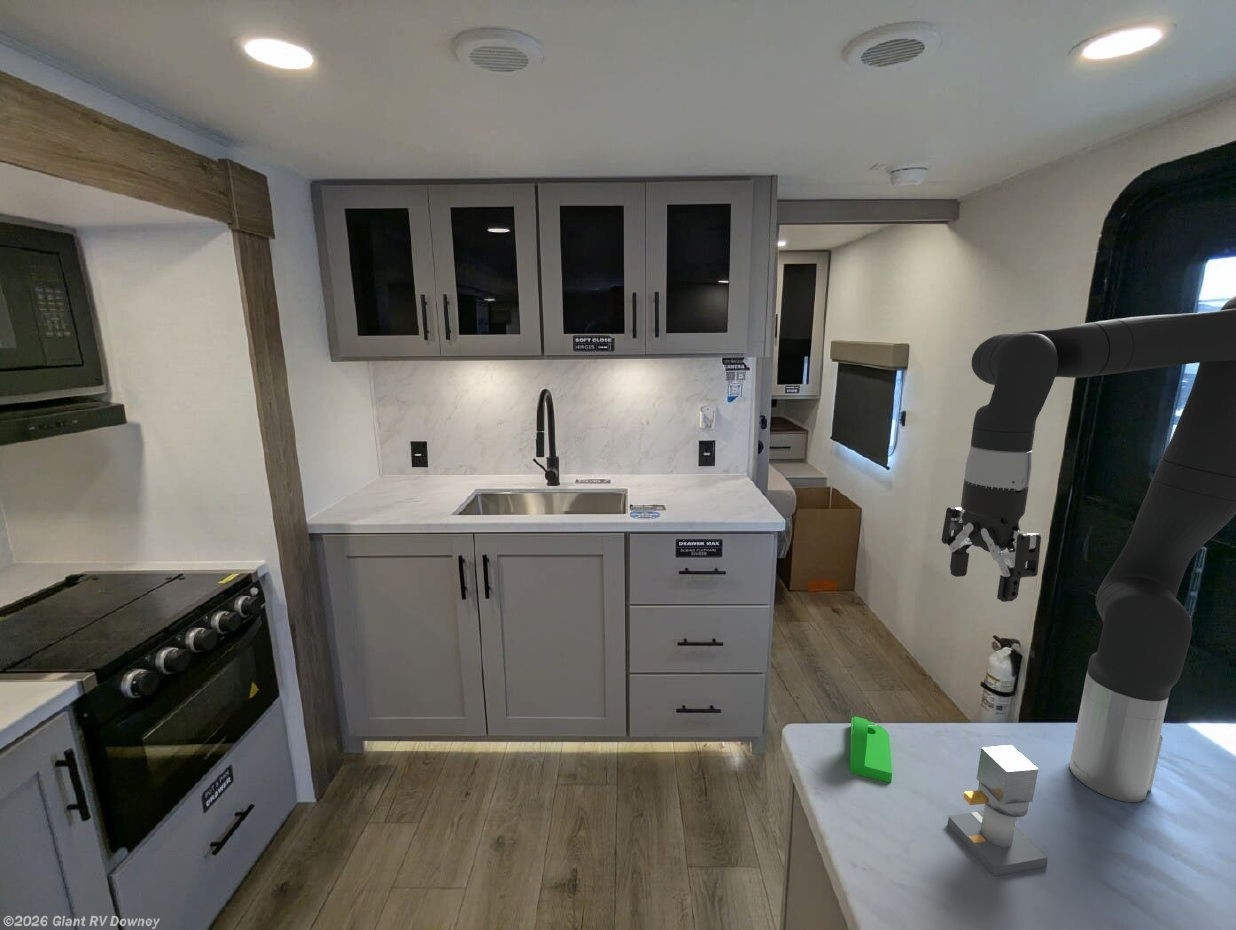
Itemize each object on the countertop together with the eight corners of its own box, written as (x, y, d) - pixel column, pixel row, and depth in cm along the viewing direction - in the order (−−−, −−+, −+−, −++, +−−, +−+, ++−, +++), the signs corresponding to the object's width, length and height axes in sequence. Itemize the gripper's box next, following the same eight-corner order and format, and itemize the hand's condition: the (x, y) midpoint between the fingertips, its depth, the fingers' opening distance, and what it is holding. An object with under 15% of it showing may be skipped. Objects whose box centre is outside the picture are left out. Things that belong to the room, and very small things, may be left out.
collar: (951, 787, 76) (957, 746, 75) (1004, 782, 77) (1011, 741, 76) (982, 820, 71) (988, 777, 69) (1038, 815, 71) (1046, 771, 70)
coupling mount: (995, 816, 80) (1002, 775, 78) (1046, 866, 72) (1054, 822, 71) (947, 824, 79) (953, 783, 77) (993, 876, 71) (1001, 831, 69)
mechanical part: (890, 784, 86) (896, 740, 85) (849, 772, 89) (854, 729, 87) (887, 735, 97) (891, 695, 95) (850, 726, 99) (854, 687, 98)
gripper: (935, 470, 83) (923, 570, 86) (1017, 493, 69) (999, 612, 72) (978, 468, 84) (965, 567, 87) (1067, 490, 70) (1048, 607, 73)
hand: (980, 587), depth 80 cm, fingers open, 8 cm apart
